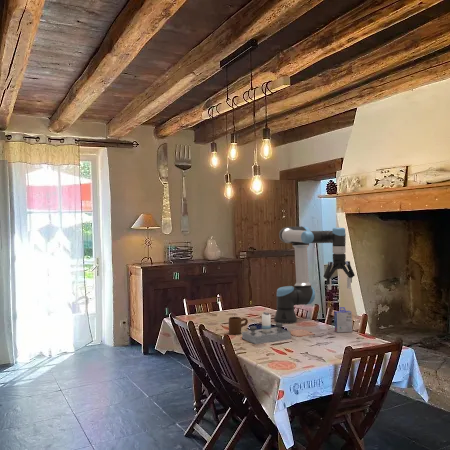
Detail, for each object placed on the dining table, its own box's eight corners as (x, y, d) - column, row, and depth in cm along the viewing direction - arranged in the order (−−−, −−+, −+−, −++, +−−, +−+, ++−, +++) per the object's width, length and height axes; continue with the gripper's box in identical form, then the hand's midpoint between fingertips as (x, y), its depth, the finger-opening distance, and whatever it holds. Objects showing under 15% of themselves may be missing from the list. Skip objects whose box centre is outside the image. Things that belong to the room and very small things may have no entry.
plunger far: (274, 332, 263) (274, 323, 263) (280, 331, 265) (280, 322, 265) (278, 333, 260) (278, 324, 260) (284, 332, 262) (284, 323, 262)
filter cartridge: (260, 338, 259) (260, 312, 259) (267, 337, 262) (267, 311, 262) (265, 340, 255) (264, 313, 255) (272, 339, 257) (272, 313, 257)
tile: (285, 333, 272) (285, 332, 272) (301, 330, 278) (301, 329, 278) (298, 337, 261) (297, 336, 261) (314, 334, 267) (314, 333, 267)
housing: (242, 338, 259) (242, 331, 259) (276, 333, 270) (276, 327, 270) (255, 344, 246) (255, 336, 246) (290, 338, 258) (290, 331, 258)
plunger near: (248, 335, 255) (248, 326, 255) (254, 335, 257) (254, 325, 257) (251, 337, 251) (251, 328, 251) (257, 336, 253) (257, 327, 253)
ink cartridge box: (349, 330, 279) (348, 306, 279) (352, 332, 273) (352, 308, 273) (333, 330, 277) (333, 307, 277) (337, 332, 272) (336, 308, 272)
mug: (246, 331, 278) (246, 316, 278) (249, 334, 270) (249, 318, 270) (227, 332, 275) (227, 317, 275) (230, 335, 267) (230, 319, 267)
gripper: (324, 254, 260) (324, 291, 260) (360, 253, 268) (360, 288, 268) (317, 253, 267) (317, 289, 267) (352, 252, 275) (353, 287, 275)
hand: (339, 289), depth 267 cm, fingers open, 13 cm apart
